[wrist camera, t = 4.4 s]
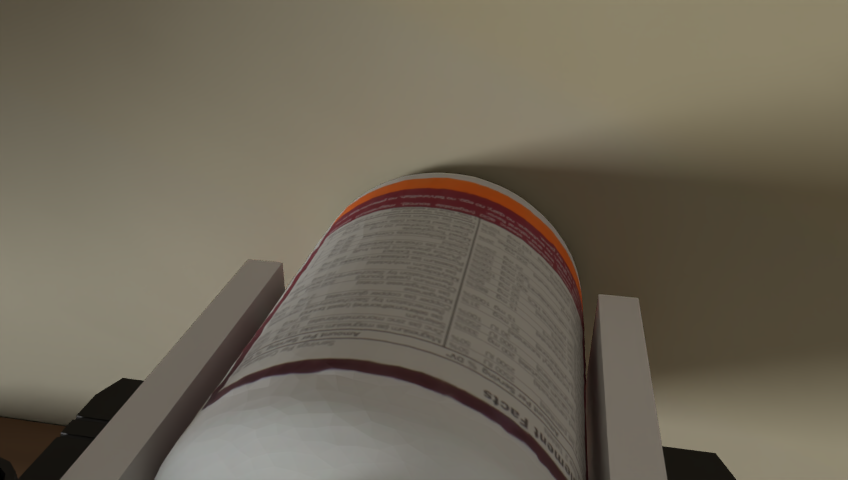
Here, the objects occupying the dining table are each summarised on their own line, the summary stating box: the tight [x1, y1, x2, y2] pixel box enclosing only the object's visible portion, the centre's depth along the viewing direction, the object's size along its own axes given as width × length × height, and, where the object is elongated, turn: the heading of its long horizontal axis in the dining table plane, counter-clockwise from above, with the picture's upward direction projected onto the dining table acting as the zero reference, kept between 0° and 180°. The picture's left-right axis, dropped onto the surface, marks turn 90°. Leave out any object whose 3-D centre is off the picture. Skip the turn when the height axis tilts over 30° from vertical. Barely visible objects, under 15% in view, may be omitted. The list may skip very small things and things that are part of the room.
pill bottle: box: [154, 173, 588, 480], centre depth 12 cm, size 6×6×11 cm
